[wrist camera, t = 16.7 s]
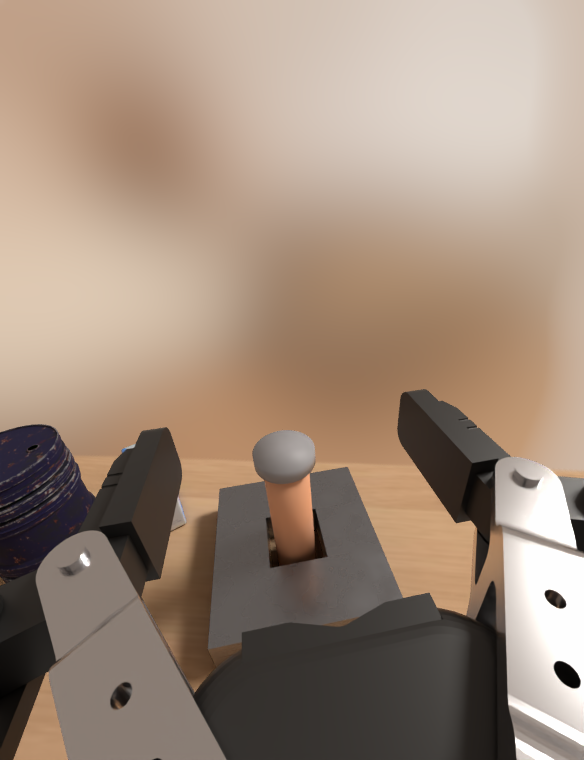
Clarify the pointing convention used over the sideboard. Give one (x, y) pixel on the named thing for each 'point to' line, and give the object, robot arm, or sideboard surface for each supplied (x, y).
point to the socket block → (294, 565)
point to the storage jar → (37, 497)
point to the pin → (288, 492)
